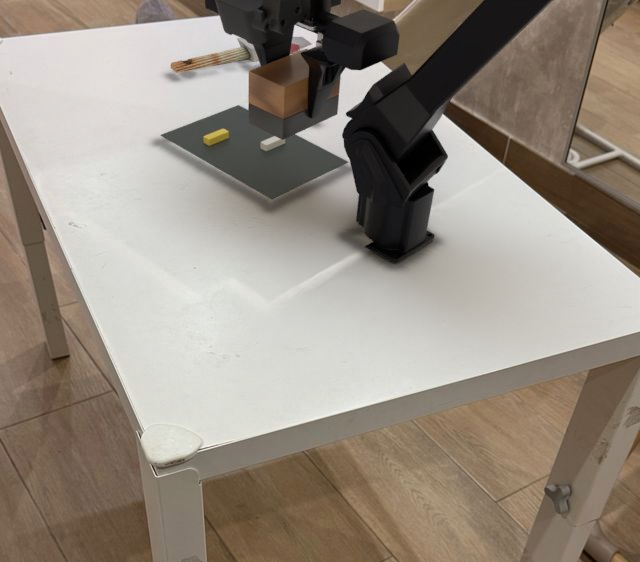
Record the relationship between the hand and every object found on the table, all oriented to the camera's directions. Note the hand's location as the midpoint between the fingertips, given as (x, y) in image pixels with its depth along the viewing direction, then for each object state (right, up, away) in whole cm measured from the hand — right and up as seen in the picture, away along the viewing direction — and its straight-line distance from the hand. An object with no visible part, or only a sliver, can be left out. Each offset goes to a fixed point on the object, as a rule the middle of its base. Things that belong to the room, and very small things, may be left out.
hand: (294, 108), depth 79 cm
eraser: (0, -1, +1) cm, 1 cm away
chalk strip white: (-3, +1, +13) cm, 14 cm away
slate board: (-5, 0, +13) cm, 14 cm away
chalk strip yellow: (-9, +2, +13) cm, 16 cm away
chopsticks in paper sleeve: (-8, +18, +30) cm, 36 cm away
